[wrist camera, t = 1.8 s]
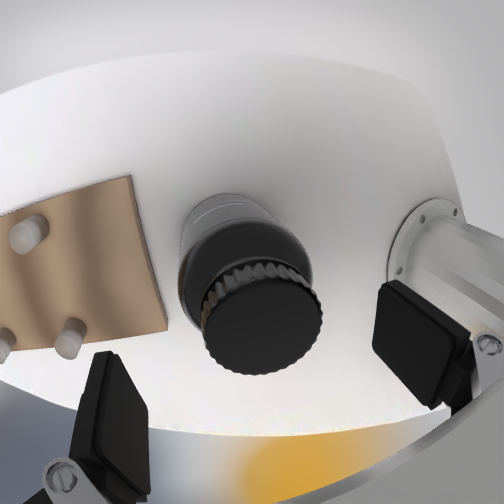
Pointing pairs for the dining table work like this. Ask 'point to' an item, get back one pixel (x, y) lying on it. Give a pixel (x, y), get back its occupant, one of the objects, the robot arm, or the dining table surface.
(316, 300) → the supplement bottle
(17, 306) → the peg board
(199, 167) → the dining table surface
